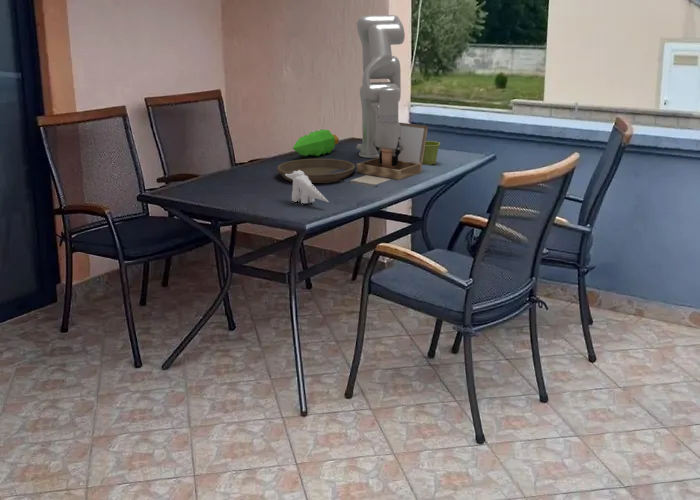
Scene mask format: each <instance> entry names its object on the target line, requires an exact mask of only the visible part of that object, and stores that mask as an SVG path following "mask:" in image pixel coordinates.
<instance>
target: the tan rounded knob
mask: <svg viewBox="0 0 700 500" xmlns="http://www.w3.org/2000/svg"><path fill="white" fill-rule="evenodd" d="M381 151H382V167H383V168H390V169H393V168H395V166H392V156H393V153H392V149H386V148H381ZM395 151H396V149H395Z"/></svg>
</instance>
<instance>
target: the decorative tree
mask: <svg viewBox="0 0 700 500" xmlns="http://www.w3.org/2000/svg"><path fill="white" fill-rule="evenodd" d="M339 140H340V139H339V137H338V136H337V135H336V134H333V133H331V131H330V130H328V129H319V130H315V131H311V132H310V133H309V134H304V136H300V137H299V138H298V139H297V140H296V142H295V143H294V145H293V147H292V149H293V150H294V151H295V152H296V153H298V154H299V155H300V156H304V157H307V156H311V157H312V156H313V157H320V155H325V154H331V152H332V151H333V150H334V149H335V147H336V145H338V144H339Z"/></svg>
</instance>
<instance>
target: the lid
mask: <svg viewBox="0 0 700 500" xmlns="http://www.w3.org/2000/svg"><path fill="white" fill-rule="evenodd" d="M398 123H400V128H401V142H402V144H403V145H404V147H405V149H404V150H403V151H402V152H401V153H400V154H399V155H398V160H400V161H407V162H413V163H420V164H421V163H422V162H423V155H424V149H425V143H426V141H427V135H428V128H429V125H426V124H425V125H424V124H415V123H408V122H407V123H406V122H399V121H398ZM398 149H400V147H399V148H398Z"/></svg>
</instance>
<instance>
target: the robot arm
mask: <svg viewBox="0 0 700 500" xmlns="http://www.w3.org/2000/svg"><path fill="white" fill-rule="evenodd" d="M356 28H357V29H356V31H357V33H358V36H359V39H360V42H361V47H362V48H361V49H362V73H363V74H362V81H361V82H362V85H361V86H360V88H359V97H360V102H361V115H362V116H361V121H362V123H361V124H362V125H361V126H362V127H361V128H362V129H361V132H362V134H361V135H362V143H357V145H356V146H355V147H356V149H357V150H360V152H359V153H358V155H359V157H361V158H366V159H367V158H368V159H375V158H379V161H380V164H382V151H381V148H386V149H392V153H393V156H392V166H396V165H398V155H399V154H400V153H401V152H402V151H403V150H404V149H405V147H404V145H403V144H402V142H401V128H400V123H401V122H399V103H400V101H401V90H402V89H401V88H402V87H401V80H402V78H401V63H400V59H399V58H398V57H397V56H394V55H393V53H392V46H391V45H396V46H397V45H402V44H403V43H404V41H405V34H406V33H405V29H404V25H403V22H401V19H400V18H399V16H397V15H394V14H380V15H379V14H374V15H373V14H371V15H363V16H361V17H359V18H358V19H357V22H356ZM370 80H389V81H383V82H382V81H378V82H377V81H376V82H375V81H374V82H371V81H370ZM398 122H399V123H398ZM399 147H400V149H398V148H399ZM395 149H396V151H395Z"/></svg>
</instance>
